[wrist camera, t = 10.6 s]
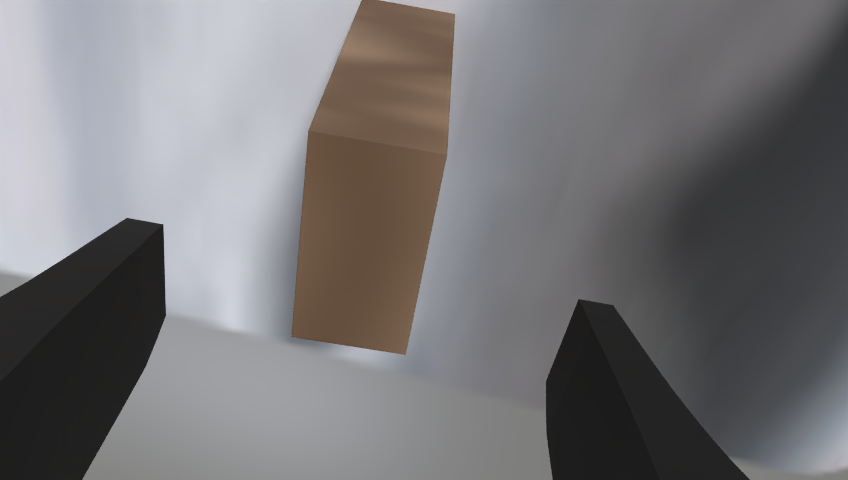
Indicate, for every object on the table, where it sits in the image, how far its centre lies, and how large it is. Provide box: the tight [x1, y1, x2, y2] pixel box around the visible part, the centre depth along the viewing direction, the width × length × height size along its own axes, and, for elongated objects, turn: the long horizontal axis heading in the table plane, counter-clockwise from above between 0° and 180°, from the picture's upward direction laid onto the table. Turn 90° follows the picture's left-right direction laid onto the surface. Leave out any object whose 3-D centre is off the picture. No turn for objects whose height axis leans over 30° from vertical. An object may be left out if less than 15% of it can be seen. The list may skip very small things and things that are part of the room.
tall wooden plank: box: [292, 0, 455, 355], centre depth 18 cm, size 2×5×8 cm, turn 171°
